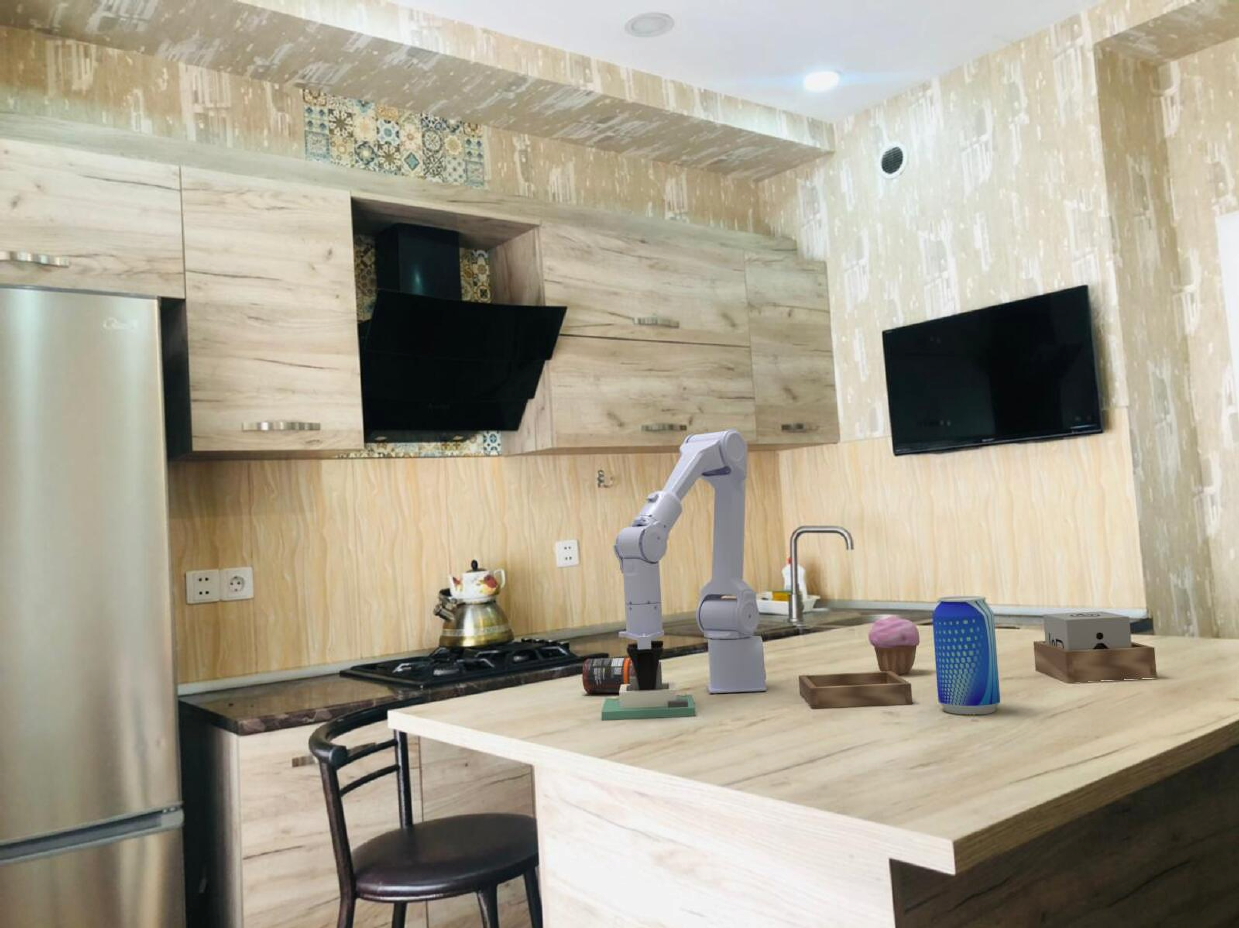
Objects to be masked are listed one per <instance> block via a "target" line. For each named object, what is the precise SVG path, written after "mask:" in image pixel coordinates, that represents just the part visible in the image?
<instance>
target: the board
mask: <svg viewBox="0 0 1239 928" xmlns="http://www.w3.org/2000/svg"><path fill="white" fill-rule="evenodd" d="M600 714H601V721H609V720H610V721H613V720H614V721H615V720H617V721H618V720H635V719H638V720H639V719H659V718H676V717H696V706H695V701H694V696H693V693H691V694H689V693H680V694H676V701H668V706H665V707H643V708H622V709H620V699H619V697H618V696H611V697H607V698H606V697H605V700H604V703H603V706H602V709H601V713H600Z"/></svg>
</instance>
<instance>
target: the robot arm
mask: <svg viewBox="0 0 1239 928" xmlns="http://www.w3.org/2000/svg"><path fill="white" fill-rule="evenodd" d="M748 447H749V446H748V444H747V442H746V441H745V440H744V438H743V435H741V433H740V432H739V431H738V430H736V429H732V428H731V429H730V428H729V429H727V430H723V431H715V432H708V433H699V434H696V433H691V434H689V435H687V436H686V437H685V439H684V441H683V443H682V444H681V445H680V446H679V457H680V458H679V459H678V461H677V463H676V465H675V466H674V469H673V470H672V472H671V473H670V476H669V478H668V479H667V481H666V483H665V485H664V487H663V489H662V490H657V491H653V492H652V493H649V494H648V495H647V497H646V500H647V501H646V502H645V503H644V505H643V507H642V508H641V509H640V510H639V513H638V514H637V516H635V518H634V519H633V521H632V523H631V525H630V526H627V527H624V528H623V529H621V531H620V532H619V533H618V534H617V536H616V538H615V543H614V544H613V546H612V547H613V552H614V555H615V557H616V558H617V560H618V562H619V570H620V572H621V574H623V592H624V593H623V594H624V611H625V629H626V630H624V631H618V637H619V638H626V639H629V640H633V641H636V642H635V643H634V642H633V643H628V644H627V646H626V652H627V654H628V657H629V658H631V660H632V663H633V665H634V668H635V672H636V677H637V681H638V686H639V690H640V691H641V690H655V686H656V676H657V668H658V663H659V662H660V660H661V656H662V654H663V651H664V647H663V646H664V641H663V640H656V639H658V638H661V637H664V636H665V630H664V629H663V627H664V626H663V612H662V611H663V610H662V606H663V605H662V591H661V590H662V589H661V571H660V570H661V569H660V561H661V560H662V559H663V557H665V556H666V554H667V553H666V552H667V550H668V549H667V548H668V540H669V535H670V532H671V530H672V529H673V527H674V526H675V524H676V523H677V521H678V520H679V518H680V517H681V515H682V512H683V506H682V503H681V502H682V500H683V499H684V498H685V496H686V495H687V494H688V492H689V491H690V490H691V489H692V488H693V486H694V485H695V483H697V481H698V479H699V478H700V479H702V480H703V481H704V482H706V483H709V484H710V485H711V486H712V488H713V491H714V501H713V503H714V504H713V505H714V507H713V531H712V532H713V533H712V534H713V535H712V536H713V537H712V563H711V565H712V566H711V568H712V569H711V579H710V580H709V582H707V583H706V584H705V585H704V586H703V587H702V588H701V589H700V594H699V595H700V598H699V602H698V605H697V607H696V610H695V611H696V612H695V619H696V624H697V625H698V628H699V630H701V632H703V637H704V638H707V647H708V648H707V649H708V665H709V683H706V684H707V689H708V692H709V694H722V693H723V694H725V693H743V692H744V693H745V692H766V690H767V686H766V685H767V684H766V683H767V682H766V680H767V672H766V667H765V653H764V643H763V638H762V636H761V635H754V633H755V632H756V630H757V628H758V625H759V623H760V611H759V606H758V603H757V592H756V590H755V589H754V588H752V586H750V585H749V583H747V582H745V580H744V558H745V557H744V555H745V553H744V552H745V524H746V523H745V522H746V521H745V520H746V519H745V518H746V516H745V515H746V483H747V482H746V481H747V480H746V478H747V477H748V451H749V449H748ZM726 596H728V597H729V596H730V597H729V598H728V597H726ZM732 597H733V598H732ZM734 597H735V598H734Z"/></svg>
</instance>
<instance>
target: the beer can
mask: <svg viewBox="0 0 1239 928" xmlns="http://www.w3.org/2000/svg"><path fill="white" fill-rule="evenodd" d="M986 600H987V598H986V597H985V596H981V595H953V596H951V595H950V596H942V597H938V598H937V601H938V602H937V605H936V607H935V608H934V610H933V612H932V615H931V618H932V630H933V632H932V633H933V644H934V645H933V647H934V658H935V659H934V661H935V673H936V674H935V675H936V686H937V687H936V688H937V701H938V703H939V704H940V705H941V707H942V708H943V710H944V711H945V712H946V711H947V712H946V713H949V714H954V715H962V714H965V715H966V714H967V715H966V716H968V714H969V716H970V715H971V714H972V715H971V716H976V715H975V714H980V715H987V714H992V713H994V712H995V711H996V709H997V707H998V705H999V704H1000V703H1001V695H1000V694H1001V693H1000V692H1001V691H1000V681H999V669H998V668H999V665H998V654H997V639H996V626H995V614H994V612H993V610H992V608H991V607H990V606H989V604H988V603H987V601H986ZM965 715H964V716H965Z"/></svg>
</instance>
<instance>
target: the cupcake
mask: <svg viewBox="0 0 1239 928" xmlns="http://www.w3.org/2000/svg"><path fill="white" fill-rule="evenodd" d="M868 640H869V644H870V645H871V646H872V647H874V652H875V656H876V662H877V665H878V669H879V672H883V671H892V672H893V673H895V674H897V675H898V676H902V675H906V674H909V673H910V672H911V671H912V669H913V666H914V664H915V660H916V653H917V647H918V646H919V645H920V634H919V630H918V628H917V626H916V624H914V622H912V621H911V620H909V619H905V618H898V617H894V616H890V617H889V616H888V617H886V618H884V619H878V620H876V621H875V622H874V624H873V625H872V627H871V628H870V630H869V631H868ZM901 674H902V675H901Z"/></svg>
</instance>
